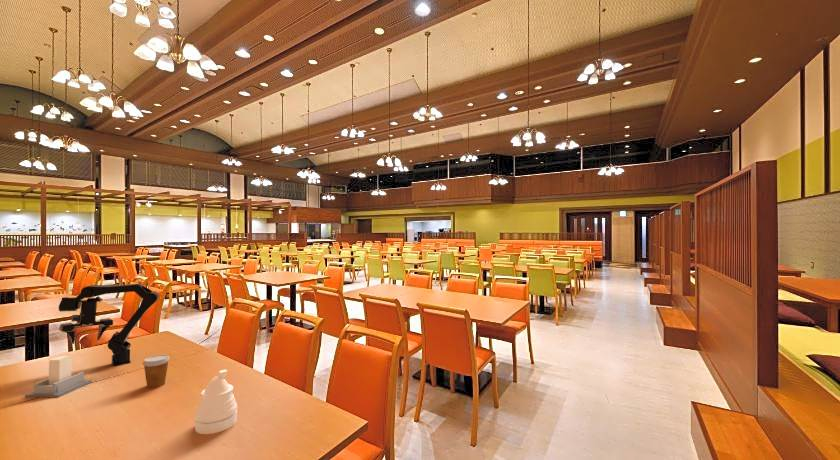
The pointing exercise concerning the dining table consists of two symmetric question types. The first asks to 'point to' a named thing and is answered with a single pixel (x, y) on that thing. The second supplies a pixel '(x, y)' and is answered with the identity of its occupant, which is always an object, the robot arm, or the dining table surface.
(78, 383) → the slot rack
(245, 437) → the dining table surface
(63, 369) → the cream block
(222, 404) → the honey pot
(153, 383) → the disposable coffee cup
